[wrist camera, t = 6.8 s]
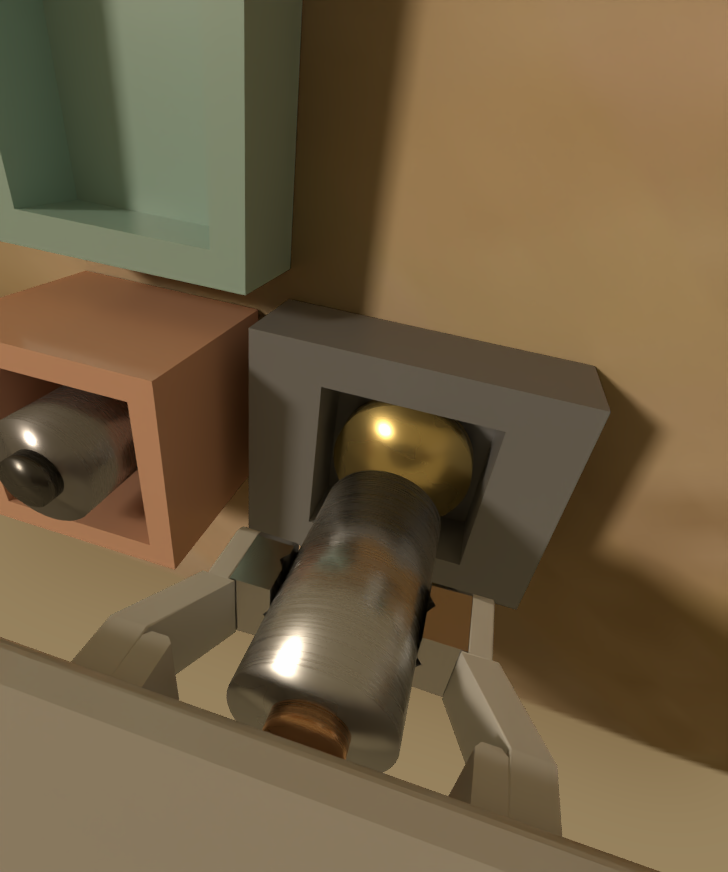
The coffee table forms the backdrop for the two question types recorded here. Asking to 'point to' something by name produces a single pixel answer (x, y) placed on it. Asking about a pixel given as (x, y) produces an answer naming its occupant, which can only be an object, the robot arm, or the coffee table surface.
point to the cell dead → (66, 452)
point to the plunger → (408, 450)
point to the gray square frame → (432, 393)
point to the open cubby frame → (139, 400)
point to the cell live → (346, 624)
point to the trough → (152, 134)
